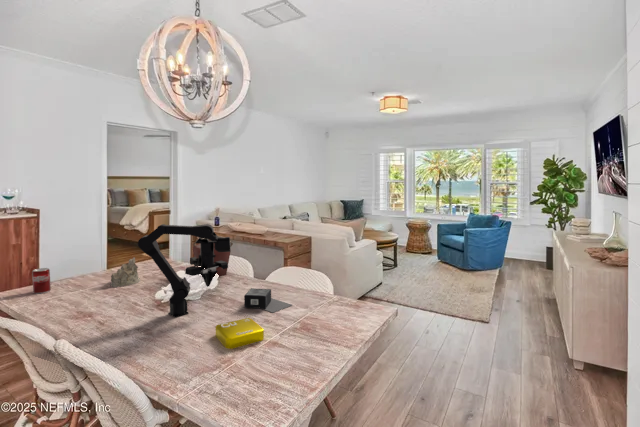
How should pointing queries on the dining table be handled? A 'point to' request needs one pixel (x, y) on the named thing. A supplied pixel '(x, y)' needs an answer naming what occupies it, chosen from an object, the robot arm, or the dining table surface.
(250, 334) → the element tile
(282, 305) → the dark rubber mat
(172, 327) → the dining table surface
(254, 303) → the small box
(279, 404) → the dining table surface
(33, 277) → the soda can
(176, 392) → the dining table surface
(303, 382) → the dining table surface
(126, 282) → the jagged grey rock
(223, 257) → the bucket
